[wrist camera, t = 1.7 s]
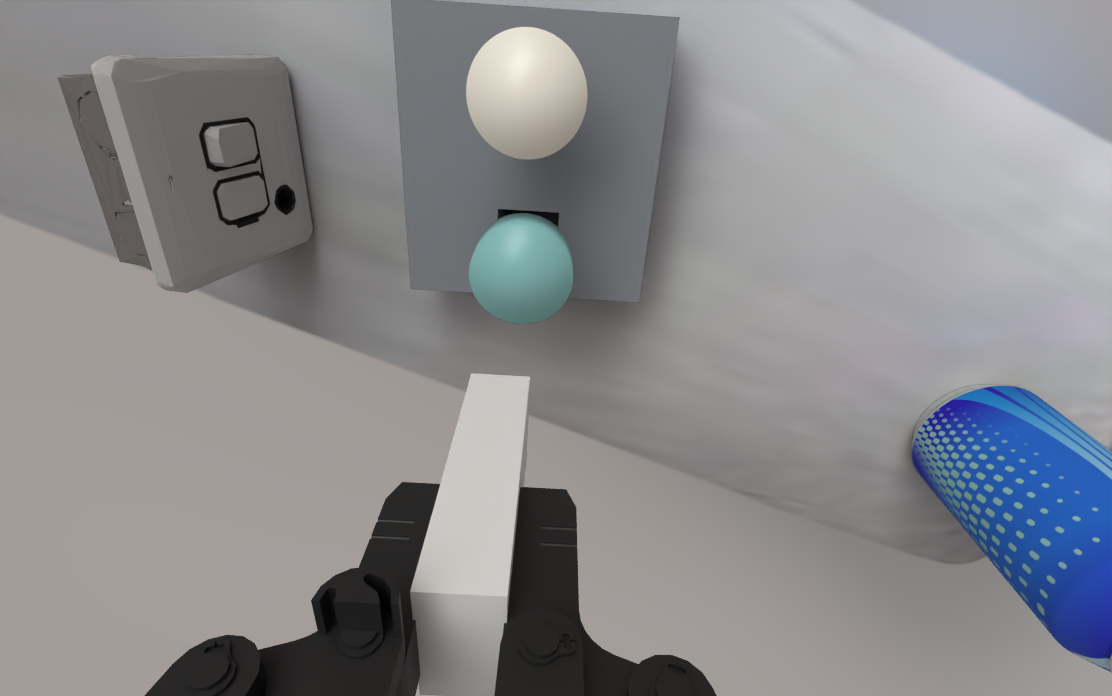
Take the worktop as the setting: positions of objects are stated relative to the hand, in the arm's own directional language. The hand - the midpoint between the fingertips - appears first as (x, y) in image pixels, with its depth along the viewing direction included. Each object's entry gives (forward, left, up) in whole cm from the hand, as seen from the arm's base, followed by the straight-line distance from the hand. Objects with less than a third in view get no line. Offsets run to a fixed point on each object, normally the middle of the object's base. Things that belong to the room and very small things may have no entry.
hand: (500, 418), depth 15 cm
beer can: (+12, +30, -19) cm, 38 cm away
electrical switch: (-3, -15, -19) cm, 25 cm away
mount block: (-4, 0, -19) cm, 19 cm away
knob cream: (-7, 0, -15) cm, 17 cm away
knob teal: (0, 0, -15) cm, 15 cm away
